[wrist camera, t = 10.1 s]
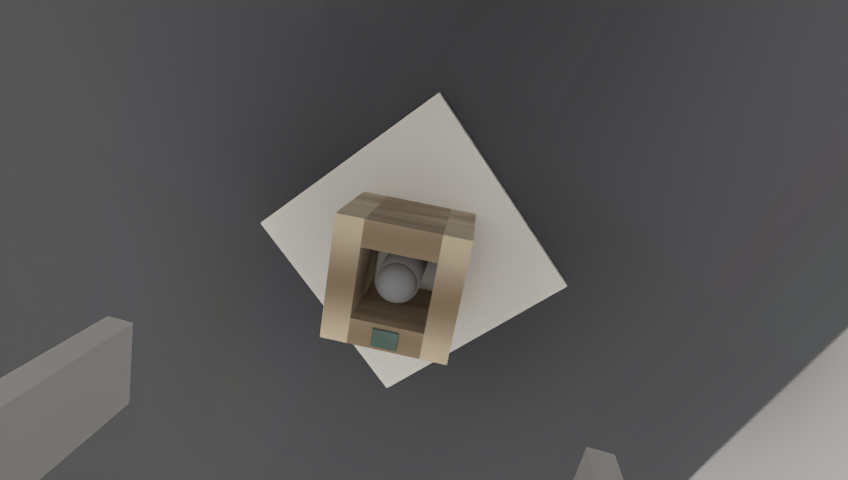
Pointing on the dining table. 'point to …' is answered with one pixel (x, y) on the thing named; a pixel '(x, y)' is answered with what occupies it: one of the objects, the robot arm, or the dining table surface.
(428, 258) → the wooden hollow block
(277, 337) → the dining table surface
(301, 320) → the dining table surface
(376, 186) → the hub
